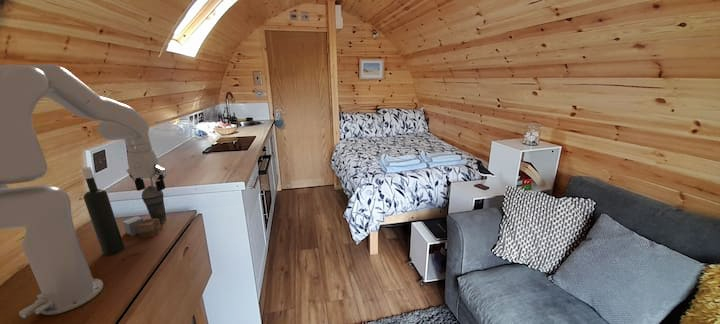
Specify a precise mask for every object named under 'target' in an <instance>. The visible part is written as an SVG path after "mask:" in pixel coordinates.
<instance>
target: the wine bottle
mask: <svg viewBox="0 0 720 324" xmlns="http://www.w3.org/2000/svg"><path fill="white" fill-rule="evenodd" d="M81 169H82V174H83V176H84V177H83V178H84V179H85V181H86V183H87V184H86V185H87V187H88V191H87V192H86V193H84V195H83V200H84V203H85V207H86V209H87V212H88V215H89V217H90V220H91V223H92V226H93V229H94V232H95V235H96V238H97V241H98V244H99V246H100V250H101V252H102V254H103V256H106V257H108V256H113V255H116V254H119V253H120V252H122V251H123V250H125V245H124V242H123V239H122V236H121V233H120V230H119V226H118V223H117V220H116V217H115V214H114V211H113V208H112V204H111V202H110V201H111V200H110V198H109V195H108V192H107V191H106V190H105V189H99V188H98V187H97V183H96V180H95V176H94V173H93V170H92V168H91V166H85V167H82V168H81Z"/></svg>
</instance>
